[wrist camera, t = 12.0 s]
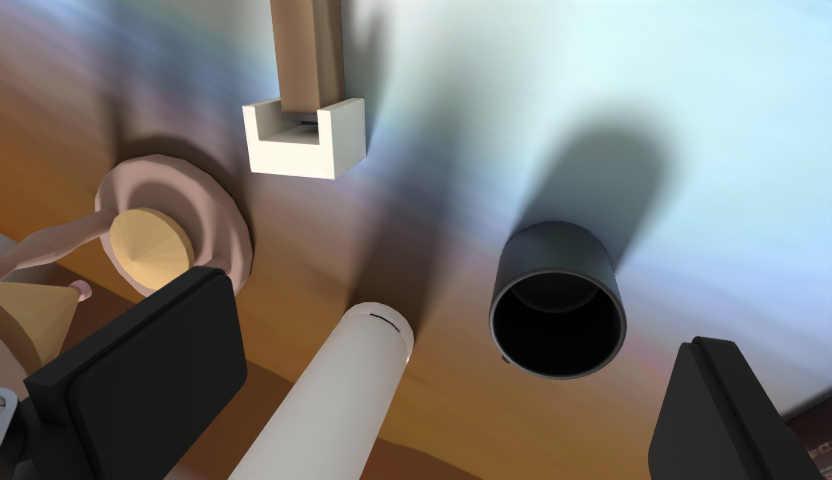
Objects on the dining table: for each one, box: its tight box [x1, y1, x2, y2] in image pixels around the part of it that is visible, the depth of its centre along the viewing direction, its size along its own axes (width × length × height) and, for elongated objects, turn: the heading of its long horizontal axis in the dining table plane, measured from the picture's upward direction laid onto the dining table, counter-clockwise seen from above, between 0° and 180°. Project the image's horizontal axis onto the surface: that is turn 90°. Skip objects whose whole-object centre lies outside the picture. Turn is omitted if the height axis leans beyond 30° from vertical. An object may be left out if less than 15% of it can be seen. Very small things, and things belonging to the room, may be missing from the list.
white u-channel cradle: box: [242, 97, 366, 179], centre depth 34 cm, size 7×24×7 cm, turn 0°
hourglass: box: [0, 154, 253, 402], centre depth 39 cm, size 18×18×25 cm
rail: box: [270, 0, 345, 122], centre depth 34 cm, size 3×16×5 cm, turn 0°
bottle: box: [228, 302, 414, 480], centre depth 36 cm, size 8×8×28 cm
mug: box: [489, 222, 627, 380], centre depth 37 cm, size 9×12×9 cm
